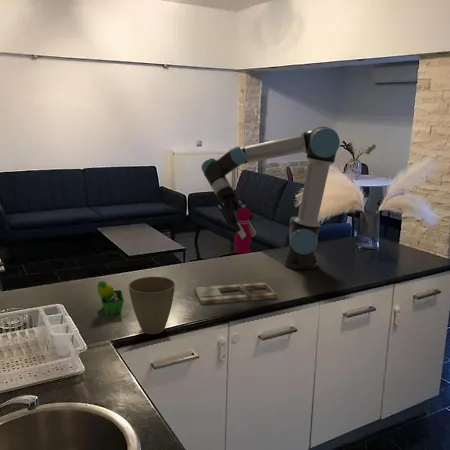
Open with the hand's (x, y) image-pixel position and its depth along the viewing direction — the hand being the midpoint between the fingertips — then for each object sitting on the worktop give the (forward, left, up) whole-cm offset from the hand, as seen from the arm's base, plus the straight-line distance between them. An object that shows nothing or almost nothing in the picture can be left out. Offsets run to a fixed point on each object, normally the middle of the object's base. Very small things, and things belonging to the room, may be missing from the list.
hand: (249, 236), depth 206 cm
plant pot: (+43, +36, -21) cm, 60 cm away
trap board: (+8, +11, -21) cm, 25 cm away
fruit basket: (+56, +16, -21) cm, 62 cm away
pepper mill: (+2, -3, -8) cm, 8 cm away
